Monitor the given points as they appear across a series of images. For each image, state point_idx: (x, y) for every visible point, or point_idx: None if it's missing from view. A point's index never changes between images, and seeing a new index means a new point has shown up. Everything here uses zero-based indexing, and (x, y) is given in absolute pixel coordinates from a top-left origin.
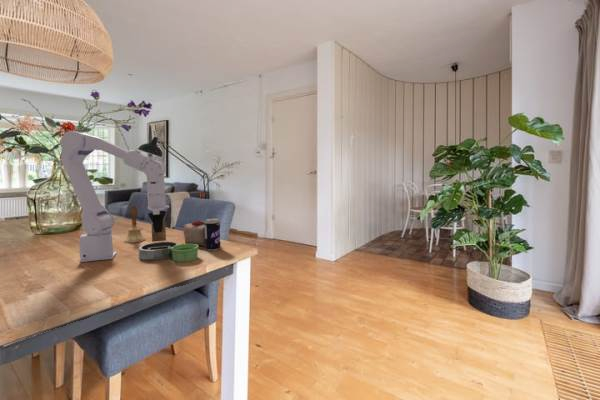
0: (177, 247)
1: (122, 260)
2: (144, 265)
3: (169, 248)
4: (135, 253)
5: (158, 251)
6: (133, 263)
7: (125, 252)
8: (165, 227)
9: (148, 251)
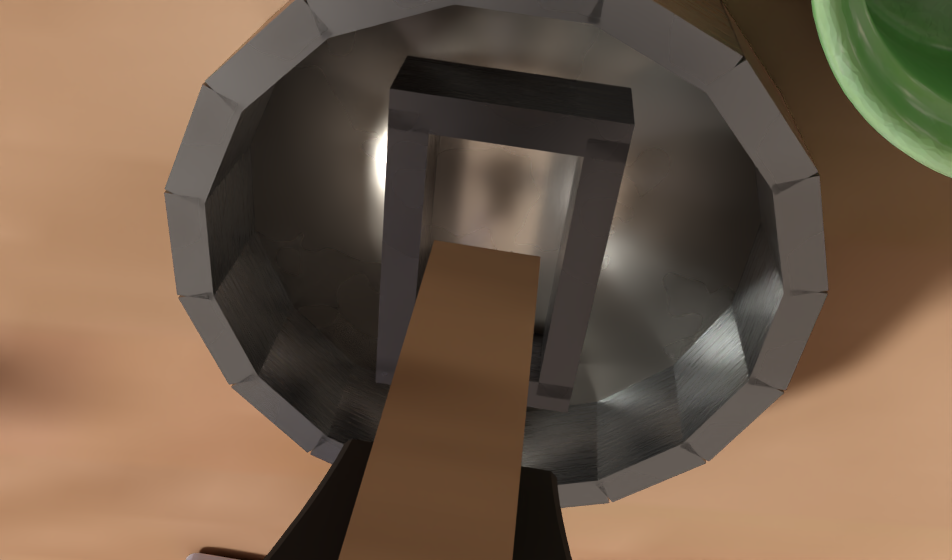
0: (858, 34)
1: None
2: (889, 404)
3: (814, 181)
4: (261, 420)
5: (804, 330)
6: (707, 473)
7: (174, 486)
8: (453, 453)
9: (722, 437)
